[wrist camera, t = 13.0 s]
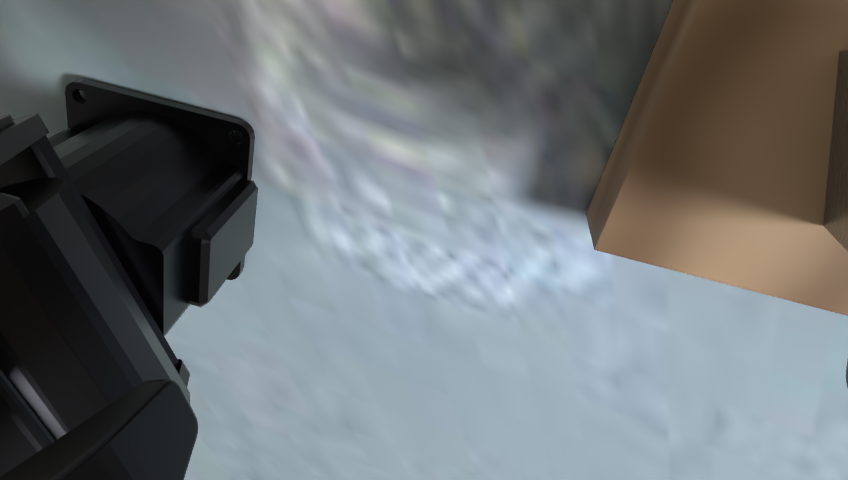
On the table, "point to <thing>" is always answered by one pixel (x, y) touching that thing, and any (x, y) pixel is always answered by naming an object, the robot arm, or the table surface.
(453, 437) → the table surface
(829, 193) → the yellow grey tall block
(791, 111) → the walnut plinth
